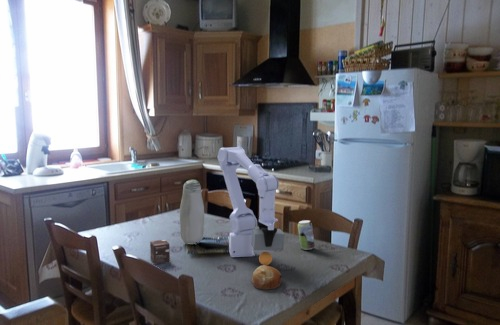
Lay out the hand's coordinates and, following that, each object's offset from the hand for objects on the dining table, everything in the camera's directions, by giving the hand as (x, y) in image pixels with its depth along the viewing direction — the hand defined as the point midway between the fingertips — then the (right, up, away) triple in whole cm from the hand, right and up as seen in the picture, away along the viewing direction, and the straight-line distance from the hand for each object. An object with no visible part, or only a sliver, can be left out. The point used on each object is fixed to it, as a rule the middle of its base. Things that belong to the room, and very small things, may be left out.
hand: (266, 243), depth 152 cm
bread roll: (0, -11, -15) cm, 18 cm away
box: (-41, -8, +4) cm, 42 cm away
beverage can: (+17, -6, +19) cm, 27 cm away
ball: (0, -6, +1) cm, 6 cm away
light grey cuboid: (0, -2, 0) cm, 2 cm away
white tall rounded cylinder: (-31, -5, +24) cm, 39 cm away
